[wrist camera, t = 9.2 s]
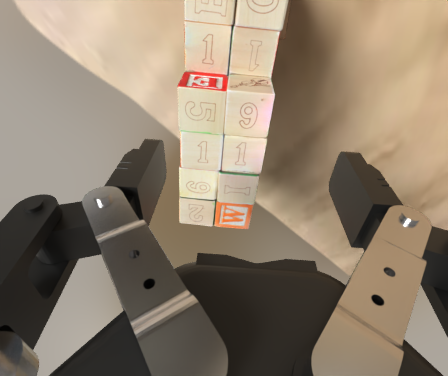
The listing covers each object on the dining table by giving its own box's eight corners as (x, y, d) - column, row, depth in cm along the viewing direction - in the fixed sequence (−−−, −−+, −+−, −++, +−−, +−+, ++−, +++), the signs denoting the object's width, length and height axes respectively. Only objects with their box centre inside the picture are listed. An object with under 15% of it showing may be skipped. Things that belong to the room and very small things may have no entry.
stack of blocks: (203, -94, 20) (171, -153, 11) (286, -83, 20) (329, -132, 11) (195, 153, 34) (177, 225, 24) (245, 158, 34) (248, 232, 24)
